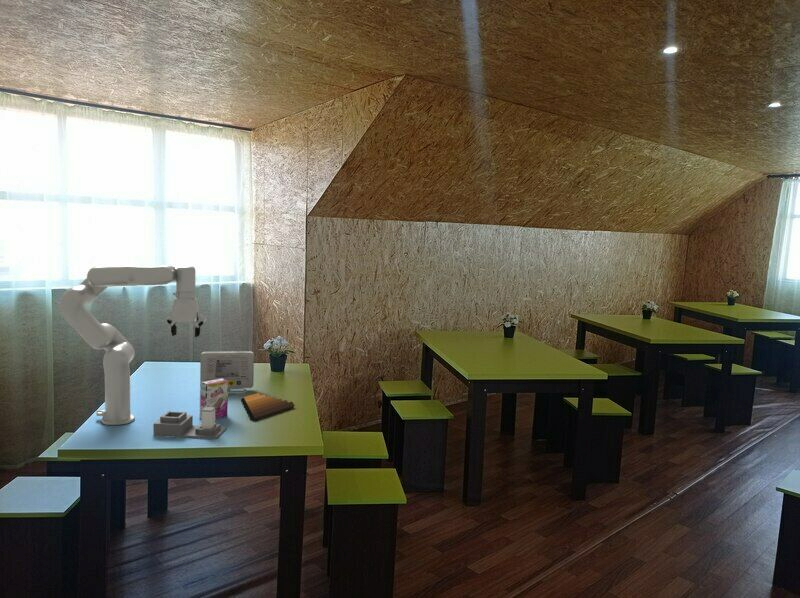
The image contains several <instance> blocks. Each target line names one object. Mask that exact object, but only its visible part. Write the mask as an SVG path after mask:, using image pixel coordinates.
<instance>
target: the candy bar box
mask: <svg viewBox="0 0 800 598" xmlns="http://www.w3.org/2000/svg"><path fill="white" fill-rule="evenodd" d="M199 385H200V386H199V419H200V420H201V421H202V409H204V408H205V407H215V420H216V419H217V420H218V419H221V418H226V417H227V416H228V409H229V408H228V401H229V398H228V397H229V394H228V380H225V379H223V378H222V379H216V380H210V381H205V382H200V383H199Z"/></svg>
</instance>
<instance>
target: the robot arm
mask: <svg viewBox="0 0 800 598" xmlns="http://www.w3.org/2000/svg"><path fill="white" fill-rule="evenodd" d="M174 282H175V283H176V284H175V285H176V287H175V288H176V290H175V291H173V292H172V296H175V297H174V298H173V302H172V303H173V304H172V308H171V312H169V313H167V314H165V315H164V318H165V320H166V322H167V324H169V327H170V334H171V336H172V337H175V336H176V335H177V329H178V328H177V324H193V325H194V326H195V328H194V337H195V338H197V337H199V336H200V335H201V327H202V326H203V325H204V324H205V322H206V321H207V318H208V317H207V316H206V315H204V314H202V313H200V312H199V310H200V309H199V303H198V299H197V298H196V268H195V267H194V266H191V265H175V264H174V265H173V264H164V265H159V266H136V265H132V264H125V265H123V264H122V265H121V264H120V265H119V264H118V265H107V264H106V265H105V264H102V265H101V264H100V265H97V266H92V267H91V268H90V269H89V270H88V271H87V274H86V278H85V279H84V280H83V281H82V282H80V283H79V284H78V285H75V286H73V287H69V288H68V289H67V290H66V291H65V292H64V293H62V296H61V298H60V302H59V309H60V313H61V315H62V317H63V318H64V320H65V321H66V322H67V323H68V324H69V325H70V326H71V327H72V328H73V329H74V331H76V332H77V333H78V334H79V336H80V337H81V338H82V339H83V340H84V341H85V342H86V343H87V345H89V346H90V347H91V348H92V349H94V350H104V351H105V353H104V356H103V360H102V365H103V372H104V409H97V410H96V413H95V414H96V416H99V417H101V419H100V422H101V424H103V425H106V426H121V425H126V424H129V423H131V422H133V421H134V420H135V415H134V414H132V413H131V372H130V371H131V370H130V363H131V362H132V360H133V359H134V357H135V354H136V352H135V349H134V347H133V345H132V344H131V343H130V341H128V339H127V338H125V336H124V335H123V334H122V333H121V332H120V331H119V329H117V328H116V327H115V326H113V325H112V324H110V323H104V322H103V323H101V322H100V321H99V320H98V319H97V318H96V317H95V316H94V315H93V314H92V313H91V312H89V311H88V310H87V309H86V308H85V306H87V305H89V304H91V303H92V302H94V301H95V300H96V299H97V298H98V297H99V296H101V294H102V293H103V292H104V291H105V290H106V289H107V288H109V287H110V288H111V287H137V286H160V285H161V286H163V285H168V284H170V283H174ZM200 319H201V321H199V320H200Z"/></svg>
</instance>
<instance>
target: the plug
mask: <svg viewBox="0 0 800 598" xmlns="http://www.w3.org/2000/svg"><path fill="white" fill-rule="evenodd" d="M201 423H202V429H213V428H214V427H215V424H216V419H215V407H205V408H204V409H202V420H201Z"/></svg>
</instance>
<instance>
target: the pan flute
mask: <svg viewBox="0 0 800 598" xmlns="http://www.w3.org/2000/svg"><path fill="white" fill-rule="evenodd" d="M240 401H241V402H242V403H241V404H242V406H243V405H244V406H243V408H244V410H245V412H246V415H247V416H248V418H249V420H250V421H251V422H252V421H253V422H255V421H258V420H261V419H265V418H267V417H271V416H274V415H276V413H277V414H280V413H282V411H283V412H286V411H288V409H289V410H291V408H292V409H294V408H295V403H294V402H293V401H288V400H287V399H284V400H283V399H282V398H278V399H277V397H275V396H274V397H271V395H267V396H266V395H265V393H263V394H261V393H260V392H257V393H254V394H251V395H246V396H243V397H241V398H240ZM285 410H286V411H285ZM279 412H280V413H279Z"/></svg>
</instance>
